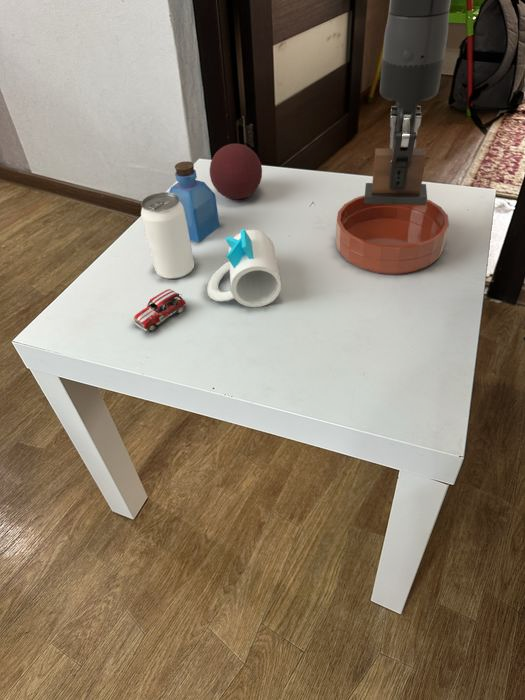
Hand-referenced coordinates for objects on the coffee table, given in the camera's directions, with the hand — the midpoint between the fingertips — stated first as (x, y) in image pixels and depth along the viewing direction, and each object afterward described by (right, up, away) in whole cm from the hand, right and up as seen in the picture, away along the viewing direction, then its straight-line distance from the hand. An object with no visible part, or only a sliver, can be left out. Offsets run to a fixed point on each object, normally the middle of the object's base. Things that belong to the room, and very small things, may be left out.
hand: (396, 184), depth 74 cm
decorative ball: (-25, +5, +24) cm, 35 cm away
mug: (-23, -15, +3) cm, 28 cm away
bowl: (+1, -7, +8) cm, 11 cm away
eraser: (0, -2, +1) cm, 2 cm away
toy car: (-35, -20, -1) cm, 40 cm away
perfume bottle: (-32, -3, +16) cm, 36 cm away
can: (-34, -12, +7) cm, 37 cm away
